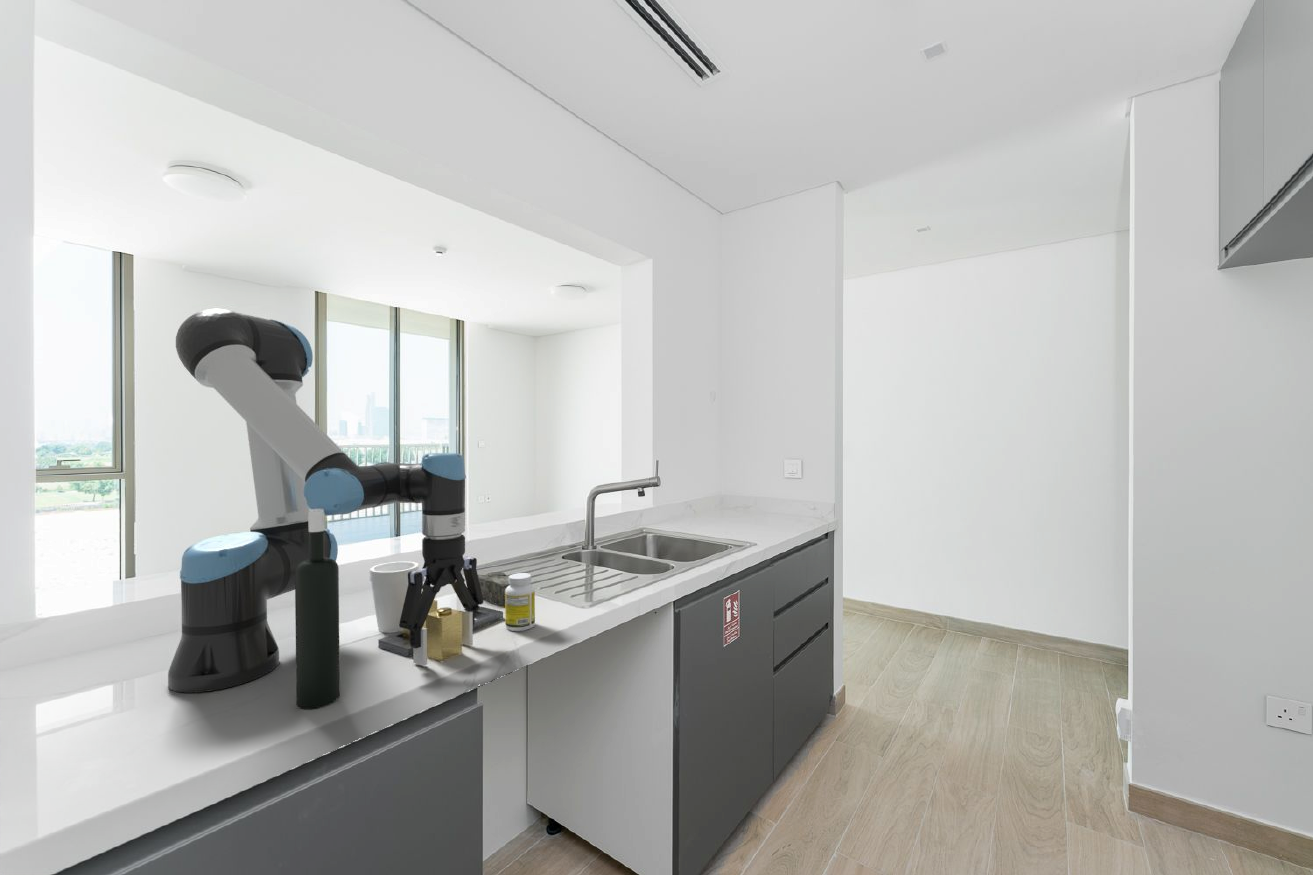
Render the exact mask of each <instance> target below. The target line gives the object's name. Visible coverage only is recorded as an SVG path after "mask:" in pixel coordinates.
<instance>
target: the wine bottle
mask: <svg viewBox="0 0 1313 875" xmlns="http://www.w3.org/2000/svg"><path fill="white" fill-rule="evenodd" d="M325 517H326V515H325V512H324V509H320V508H319V509H309V513H308V528H309V553H310V559H308V560H305V561H303V562H302V563H300V564H299V565H298V567H297V568H296V571H295V590H294V601H295V603H294V604H295V607H294V608H295V680H296V681H295V686H296V687H295V690H296V692H295V694H296V697H295V698H296V701H295V702H296V704H295V705H296V707H297V708H299V709H301V710H313V709H319V708H323V707H325V706H329V705H331V704H332V703H334V702H336V701H337V700H338V699H339V698H340V697H341V696H340V695H341V694H340V693H341V690H340V689H341V686H340V684H341V682H340V681H341V679H340V678H341V676H340V674H341V673H340V671H341V670H340V587H339V586H340V583H339V581H340V580H339V577H340V575H339V572H340V571H339V570H340V568H339V565H338V562H337V561H336V562H335V561H334V560H333V559H331V558H326V557H324V530H325V527H326V526H325V524H326V521H325V520H326V518H325Z"/></svg>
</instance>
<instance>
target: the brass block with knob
mask: <svg viewBox="0 0 1313 875" xmlns="http://www.w3.org/2000/svg"><path fill="white" fill-rule="evenodd" d="M403 605H404V603H403ZM437 609H438V600H436V599H434V601H433V603H432V606H431V608H430V611H429V613H431V612H434V611H437ZM423 628H426V620H425V623H424V625H423ZM402 631H403V639H406V640H410V630H408V629H404V628H403V630H402Z"/></svg>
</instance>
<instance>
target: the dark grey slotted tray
mask: <svg viewBox="0 0 1313 875" xmlns="http://www.w3.org/2000/svg"><path fill="white" fill-rule="evenodd" d="M478 606H479V610H478V611H475V624H474V626H473V631H476V630H478V629H481V628H483V627H485V626H488V625H490V624H493V623H495V622H498V621H500V620H503V619H504V611H503V610H502V611H501V610H498V609H493V608H488V607H484V606H481V605H478ZM462 610H465V608H463V609H462ZM476 618H477V619H476ZM377 646H378V648H380V649H383V650H385V651H387V652H388V651H389V652H392V653H395V654H398V655H401V656H405V657H407V658H410V657H411V656H413V647H411V646H410V640H406V639H403V630H402V631H398V632H395V633H393V634H391V635H387V636H385V637H382V638H379V639H378V645H377Z"/></svg>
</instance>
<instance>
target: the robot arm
mask: <svg viewBox="0 0 1313 875" xmlns="http://www.w3.org/2000/svg"><path fill="white" fill-rule="evenodd" d="M175 348H176V353H177V356H178V358H179V360H180V361H181V364H182V365H183V367H184V368H185V370H187V371H188V372H189V373H190V375H191V376H192V377H193V378H194V379H195V380H196V382H198V383H199V384H200V385H201V386H204V387H206V388H213V389H214V390H215V391H216V392H217V393H218V394H219V395H220V396H221V397H222V398H223V399H224V401H226V403H227V404H229V405H230V406H231V407H232V408H233V410H235V412H236V413H237V414H238V415H239V416H240V417H241V418H242V419H243V420H244V421H245V423H246V429H247V430H246V432H247V439H248V446H249V455H250V461H251V462H250V463H251V469H252V477H253V478H252V479H253V484H254V494H255V500H256V508H257V515H258V516H257V517H258V518H257V519H256V521H255V522H254V523H253V524H252V525H251V526H250V528H249V530H250V531H241V532H233V533H230V534H222V535H216V536H213V537H209V538H206V539H203V540H200V541H198V542H196V543H193V544H191V545H190V546H189V547H188V548H186V550H185V551H184V552H183V554H182V557H181V566H180V567H181V569H180V571H179V579H180V589H181V590H180V591H181V592H180V594H181V596H180V597H181V637H180V640H179V642H178V645H177V647H176V650H175V654H174V656H173V658H172V660H171V663H170V666H169V669H168V672H167V685H168V686H167V687H168V689H169V690H171V691H174V692H179V693H204V692H211V691H217V690H223V689H227V688H230V687H236V686H238V685H239V686H240V685H242V684H245V683H249V682H251V681H253V680H255V679H258V678H261V677H263V676H265V675H266V674H268V673H271V671H273V670H274V669H275V668H276V667H278V665H279V664H280V648H279V646H278V644H277V642H276V639H275V637H274V634H273V632H272V630H271V627H270V625H269V622H268V600H270V599H272V598H275V597H277V596H281V595H283V594H285V593H289V592H292V591H295V571H296V568H297V567H298V565H299V564H300V563H302V562H303V561H305V560H308V559H310V553H309V528H308V513H309V509H319V508H320V509H324V512H325V517H326V516H327V517H328V516H338V515H348V514H350V513H353V512H358V511H362V510H367V509H371V508H372V509H373V508H379V507H383V506H386V505H392V504H421V511H422V512H421V513H422V514H421V516H422V517H421V535H423V536H424V537H423V538H422V539H421V540H422V541H421V542H422V543H421V546H422V547H421V548H422V550H421V551H422V552H421V554H422V558H423V561H424V562H423V566H422V568H421V569H419V570H418V571H409V572H408V588H407V592H406V597H405V601H404V605H403V610H402V614H401V619H400V623H399V627H401V628H404V629H408V630H410V646H411V647H413V655H412V656H413V664H416V665H419V666H422V667H425V666H427V664H428V657H427V628H423V625H424V623H425V620H426V618H427V615H428V613H429V611H430V608H431V606H432V603H433V601H434V600H435V599H436V597H437V594H438V593H439V592H440V591H441V589H442V588H443V587H446V586H447V585H451V586H452V589H453V591H454V593H455V595H456V596H457V598H458V600H459V601H460V604H461V606H462V607H463V609H465V610H463V609H459V611H462V645H465V646H467V647H468V646H469V647H471V646H473V644H474V642H473V640H474V639H473V636H474V634H473V631H474V630H473V626H474V624H475V620H476V618H475V611H478V610H479V606H481V605H483V604H484V598H483V596H482V592H481V587H480V583H479V579H478V575H479V574H478V570H477V558H476V557H472V556H471V557H470V556H464V555H465V553H466V537H465V535H464V533H465V531H466V510H465V509H466V508H465V502H466V501H465V500H466V496H465V495H466V494H465V493H466V490H465V488H466V486H465V485H466V479H467V476H466V470H465V459H464V456H463V455H462V454H461V453H457V452H456V453H455V452H445V453H444V452H436V453H435V452H431V453H430V452H429V453H425V454H423V456H422V457H421V462H420V463H405V462H404V463H402V462H401V463H399V462H397V463H396V462H386V461H385V462H375V463H374V462H373V463H369V464H367V465H360V466H359V465H358V464H356V463H355V462H354V461H353V460H352V458H350V456H348V454H346V453H345V452H344V451H343V449H342V448H340V447H339V446H338V445H337V444H336V443H335V441H334V440H332V439H331V438H330V437H329V435H327V433H326V432H325V431H324V430H323V429H322V428H320V426H318V424H317V423H316V422H315V421H314V420H313V419H312V418H311V417H310V416H309V414H307V413H306V412H305V411H304V410H303V409H302V408H301V407H300V406H299V405H298V404H297V397H296V394H297V392H298V391H300V389H301V388H302V387H303V386H304V381H303V378H304V377H305V376H306V375H308V373H309V371H310V370H309V368H312V365H313V359H314V357H313V356H314V355H313V349H312V347H311V344H310V342H309V340H308V339H307V337H306V336H305V335H304V333H303V332H301V331H300V330H299V329H297V328H296V327H294V326H292V325H290V324H286V323H284V322H282V321H278V320H277V319H276V320H275V319H266V318H263V317H258V316H254V315H249V314H245V313H242V312H241V313H240V312H236V311H233V310H228V309H223V308H211V309H205V310H201V311H197V312H196V313H193V314H192V315H190V316H189V317H187V318H186V319H185V320H184V321H183V322H182V323H181V324H180V326H179V328H178V329H177V332H176V336H175ZM337 542H338V541H337V539H336V536H335V534H333V533H331V532H330V529H329V528H327V527H326V526H325V530H324V557H326V558H331V559H333V560H334V561H335V562H336V563H337V559H338V552H339V547H338V546H339V545H338V543H337ZM462 570H463V572H462ZM462 573H463V574H462Z"/></svg>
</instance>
